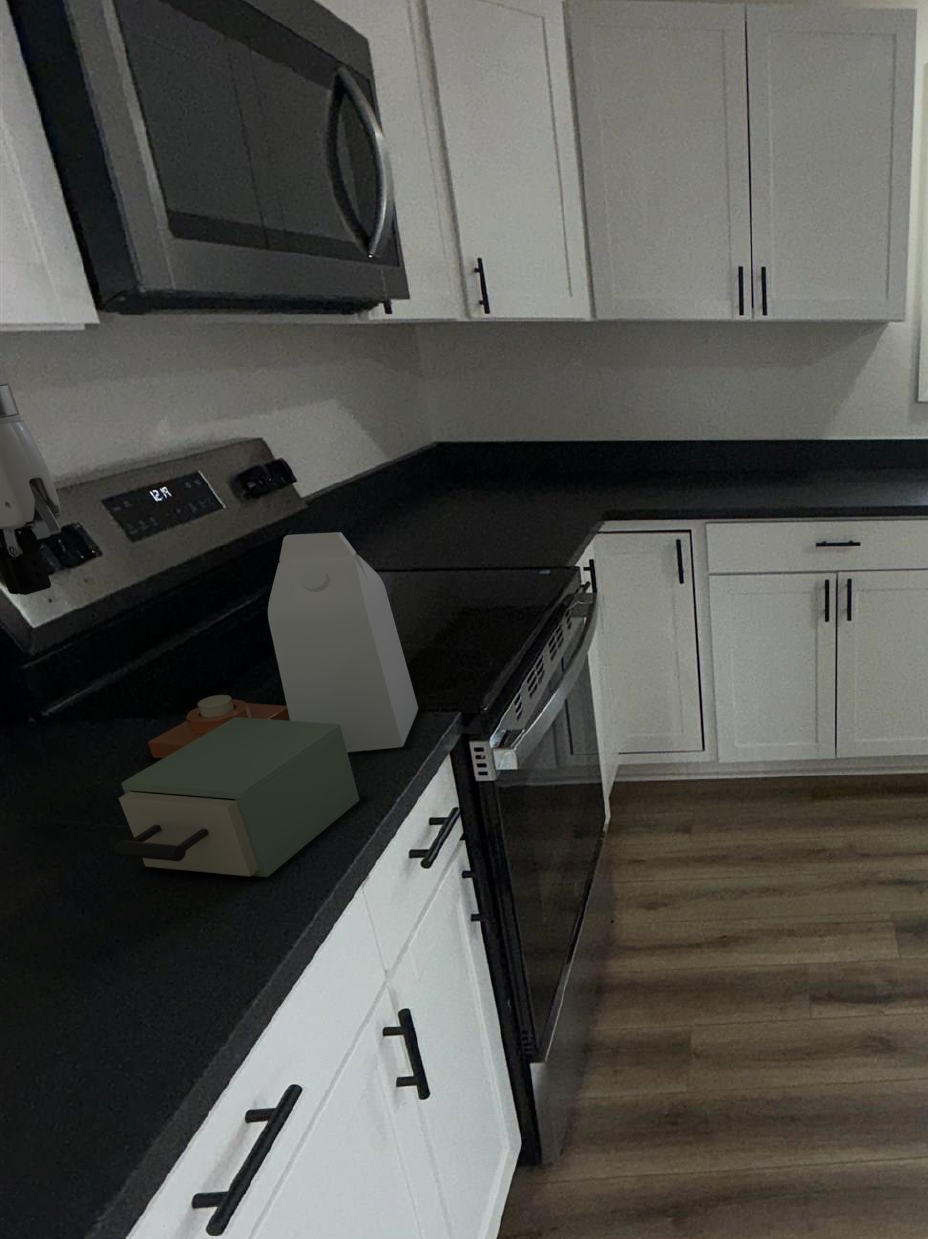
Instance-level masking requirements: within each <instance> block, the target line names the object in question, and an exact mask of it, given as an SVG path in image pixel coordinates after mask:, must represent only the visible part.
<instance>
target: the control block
mask: <svg viewBox="0 0 928 1239" xmlns="http://www.w3.org/2000/svg"><path fill="white" fill-rule="evenodd" d="M232 702H233V705H234V708H235V710H234V711H232V712H230V713H228V714H225V715H222V716H218V717H211V718H202V717H201V714H200V711H199V708H198V706H197V707H195V708H193V709H192V710H190V711H188V713H187V715H186V717H185V719H186V720H185V721H184V722H182V723H180V724H179V725H176V726H174V727H173V728H171V729H169V730H167V731H166V732H163V733H162V734H160V735H158V736H156V737H154V738H152V739H150V740H149V741H147V744H148V747H149V750H150V752H151V755H152V757H153V758H155V759H163V758H165V757H167V756H169V755H170V754H172V753H174V752H176V751H177V750H179V749H181V748H182V747H184V746H186V745H188V744H189V743H191V742H193V741H195V740H196V739H198V738H200V737H201V736H203V735H205V734H207V733H208V732H210V731H212V730H214V729H215V728H217V727H219V726H221V725H222V724H224V723H226V722H227V721H229V720H231V719H233V718H234V717H242V718H256V719H270V720H285V721H290V718H289V713H288V708H287V705H281V704H280V705H279V704H268V703H267V704H266V703H265V704H264V703H251V702H246V701H244V700H242V699H232Z"/></svg>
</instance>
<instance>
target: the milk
mask: <svg viewBox="0 0 928 1239" xmlns="http://www.w3.org/2000/svg"><path fill="white" fill-rule="evenodd" d="M281 545H282V546H281V548H280V549H281V550H280V555H279V562H278V563H277V568H276V572H275V576H274V580H273V583H272V588H271V590H270V596H269V600H268V605H267V620H268V625H269V629H270V634H271V638H272V642H273V647H274V653H275V657H276V662H277V666H278V672H279V676H280V680H281V685H282V689H283V694H284V698H285V703H286V706H287V708H288V713H289V718H290V721H299V722H314V723H328V724H340V727H341V731H342V735H343V738H344V742H345V746H346V750H347V753H353V752H364V751H375V750H384V749H394V748H395V749H396V748H403V747H404V746H405V743H406V740H407V738H408V735H409V733H410V731H411V728H412V726H413V723H414V721H415V718H416V716H417V714H418V710H419V705H418V703H417V698H416V694H415V692H414V688H413V684H412V680H411V677H410V673H409V669H408V666H407V662H406V659H405V655H404V652H403V648H402V644H401V640H400V637H399V633H398V629H397V626H396V623H395V618H394V614H393V611H392V606H391V604H390V600H389V597H388V593H387V589H386V587H385V583H384V581H383V579H382V578H381V576H380V575H379V574H378V572H376V571H375V569H374V570H373V569H372V568H371V567H370V566H369V565H368V564H367V563H366V562H365V561H366V560H364V559H363V557H361V556H360V555H359V554H357V551H356V550H355V549H354V547H353V546H352V545H351V543H350V542H349V540H347V538H346V537H345V535H344V534H343V533H342V531H339V532H338V531H337V532H317V533H315V532H314V533H297V534H286V535H285V536H284V537H283V539H282V544H281Z"/></svg>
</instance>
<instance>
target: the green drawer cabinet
mask: <svg viewBox="0 0 928 1239" xmlns="http://www.w3.org/2000/svg"><path fill="white" fill-rule="evenodd" d="M120 785H121V787H122V789H123V792H124V795H125V794H126V793H128V792H137V793H149V794H150V792H156V793H168V794H180V795H192V796H204V797H216V798H228V799H235V801H237V804H238V807H239V810H240V813H241V816H242V819H243V822H244V825H245V828H246V831H247V834H248V837H249V840H250V843H251V846H252V849H253V852H254V855H255V858H256V861H257V865H258V868H259V870H258V871H256V872H255V873H254V874H253V875H251V876H250V877H260V878H261V877H262V878H268V877H270V876H271V875H272V874H273V873H274V872H276V871H277V870H278V869H279V868H280V867H282V865H284V864H285V863H286V862H287V861H289V860H290V859H291V858H292V857H293V856H295V855H296V854H297V853H299V851H301V850H302V849H303V848H304V847H306V846H307V845H308V844H309V843H311V842H312V841H313V840H314V839H315V838H316V837H317V836H319V835H320V834H321V833H322V832H324V831H326V829H327V828H328V827H329V826H331V825H332V824H333V823H334V822H335V821H337V820H338V819H340V817H342V816H343V815H344V814H345V813H346V812H348V811H349V810H350V809H351V808H352V807H353V806H355V805H356V804H357V803H358V802H360V796H359V793H358V789H357V785H356V782H355V777H354V773H353V769H352V766H351V761H350V757H349V754H348V752H347V750H346V746H345V742H344V738H343V735H342V731H341V727H340V724H328V723H314V722H299V721H285V720H270V719H256V718H242V717H234V718H233V719H231V720H229V721H227V722H226V723H224V724H222V725H221V726H219V727H217V728H215V729H214V730H212V731H210V732H208V733H207V734H205V735H203V736H201V737H200V738H198V739H196V740H195V741H193V742H191V743H189V744H188V745H186V746H184V747H182V748H181V749H179V750H177V751H176V752H174V753H172V754H170V755H169V756H167V757H165V758H161V759H160V760H158V761H156V762H154V763H153V764H151V765H150V766H148V767H146V768H144V769H143V770H141V771H139V772H137V773H136V774H133V775H132V776H130V777H128V778H127V779H125V780H124V781H122V782H121V783H120Z"/></svg>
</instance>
